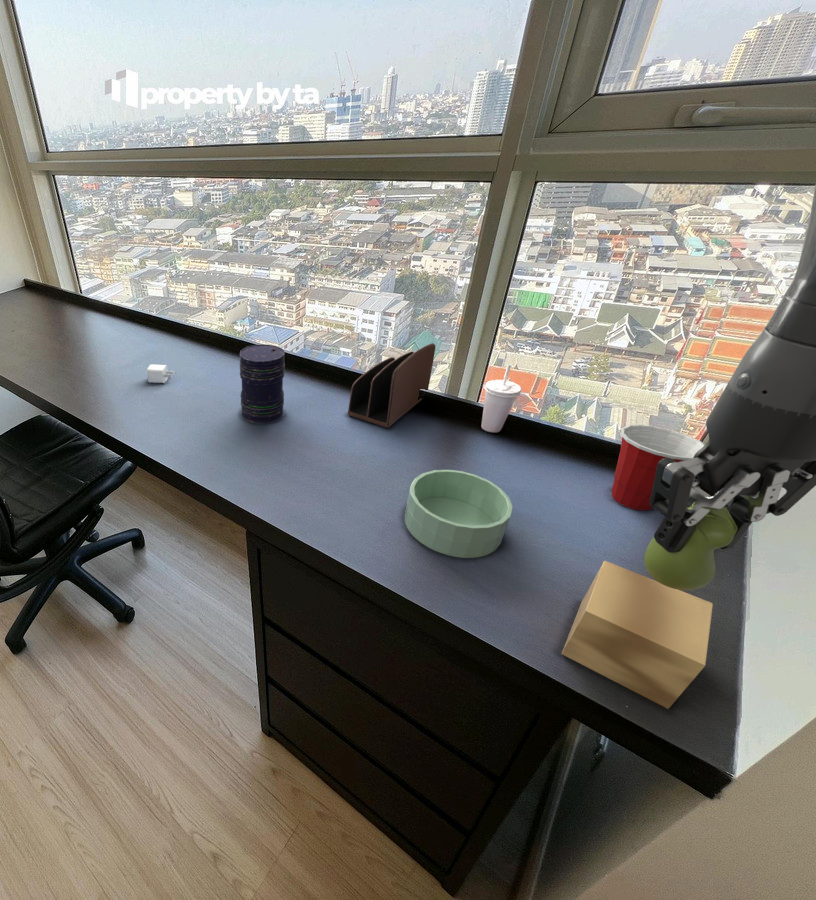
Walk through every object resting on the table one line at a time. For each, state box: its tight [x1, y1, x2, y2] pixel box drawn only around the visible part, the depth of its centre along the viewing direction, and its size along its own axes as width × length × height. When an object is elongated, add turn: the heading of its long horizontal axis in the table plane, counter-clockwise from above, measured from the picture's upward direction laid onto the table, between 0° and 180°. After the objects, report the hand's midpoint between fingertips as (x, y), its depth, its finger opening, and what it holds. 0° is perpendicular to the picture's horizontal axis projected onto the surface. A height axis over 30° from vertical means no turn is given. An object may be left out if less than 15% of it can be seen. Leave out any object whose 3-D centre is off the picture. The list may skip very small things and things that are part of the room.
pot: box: [404, 469, 514, 559], centre depth 75 cm, size 14×14×6 cm
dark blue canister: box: [239, 343, 286, 425], centre depth 108 cm, size 10×10×15 cm
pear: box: [643, 500, 738, 591], centre depth 48 cm, size 6×5×10 cm
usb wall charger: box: [146, 364, 177, 384], centre depth 129 cm, size 4×7×4 cm, turn 79°
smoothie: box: [480, 363, 522, 433], centre depth 97 cm, size 6×6×14 cm
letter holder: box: [347, 343, 436, 429], centre depth 108 cm, size 10×20×14 cm, turn 137°
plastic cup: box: [611, 423, 706, 511], centre depth 77 cm, size 11×11×12 cm
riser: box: [561, 560, 714, 710], centre depth 55 cm, size 10×10×8 cm
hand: (691, 544), depth 48 cm, fingers closed on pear, 4 cm apart
